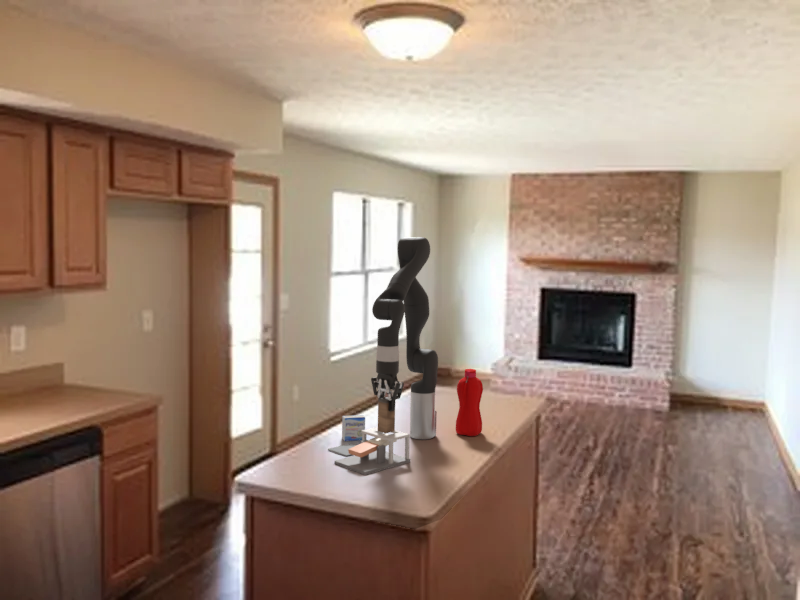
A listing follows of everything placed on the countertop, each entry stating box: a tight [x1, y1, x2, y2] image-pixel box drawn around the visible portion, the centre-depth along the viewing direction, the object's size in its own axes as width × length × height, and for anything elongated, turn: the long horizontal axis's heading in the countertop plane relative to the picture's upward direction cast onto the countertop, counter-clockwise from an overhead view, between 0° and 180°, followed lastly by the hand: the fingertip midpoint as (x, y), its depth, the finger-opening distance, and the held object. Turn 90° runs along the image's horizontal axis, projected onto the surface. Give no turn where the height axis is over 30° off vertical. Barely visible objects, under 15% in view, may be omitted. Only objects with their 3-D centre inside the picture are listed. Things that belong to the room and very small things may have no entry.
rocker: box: [348, 433, 398, 457], centre depth 235 cm, size 16×6×2 cm, turn 134°
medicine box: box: [341, 414, 366, 442], centre depth 263 cm, size 8×4×9 cm, turn 105°
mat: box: [327, 443, 356, 458], centre depth 249 cm, size 10×10×1 cm
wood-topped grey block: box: [377, 396, 396, 434], centre depth 238 cm, size 4×4×11 cm
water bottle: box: [455, 368, 484, 437], centre depth 273 cm, size 9×11×25 cm
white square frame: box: [334, 426, 411, 476], centre depth 235 cm, size 20×15×9 cm
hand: (386, 409), depth 238 cm, fingers closed on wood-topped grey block, 4 cm apart
